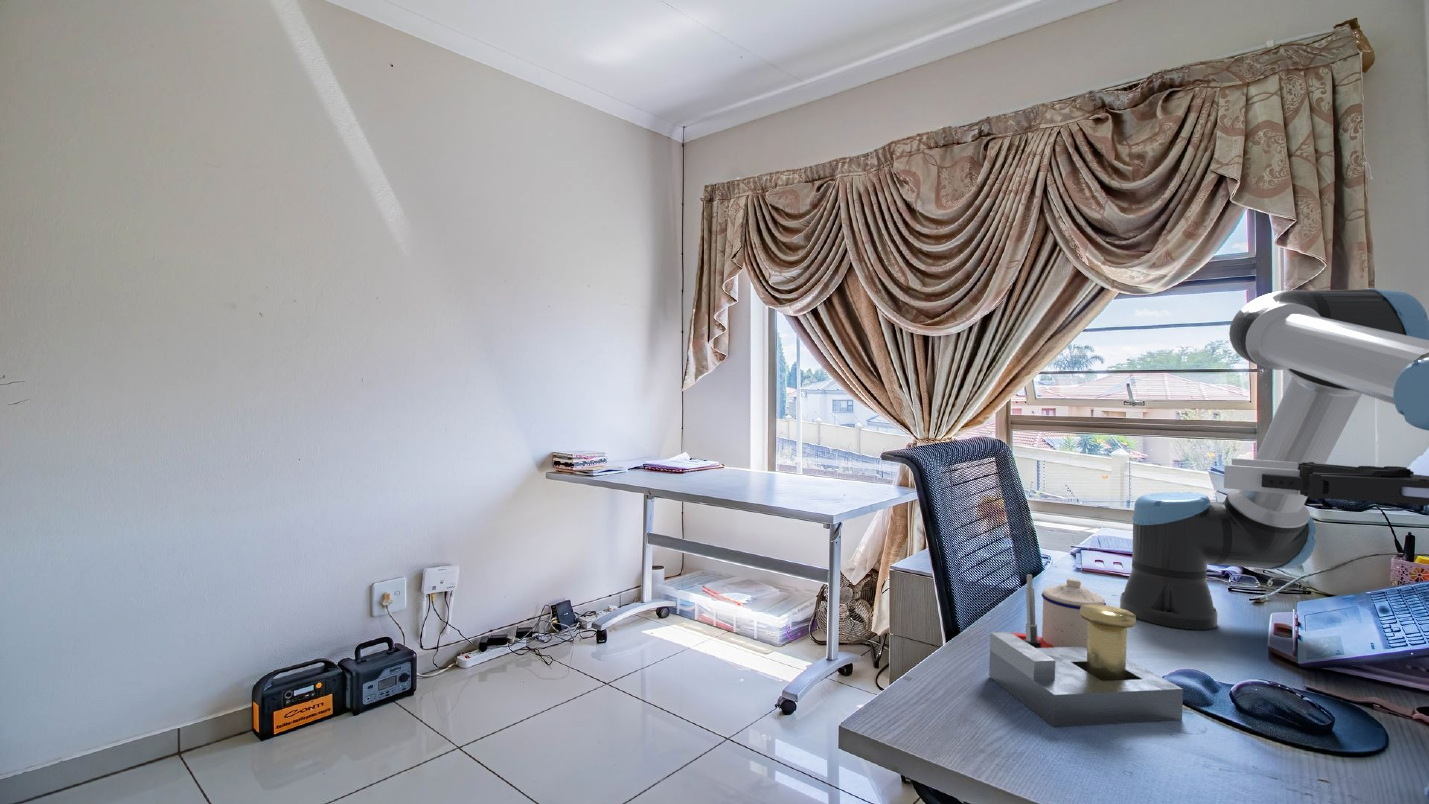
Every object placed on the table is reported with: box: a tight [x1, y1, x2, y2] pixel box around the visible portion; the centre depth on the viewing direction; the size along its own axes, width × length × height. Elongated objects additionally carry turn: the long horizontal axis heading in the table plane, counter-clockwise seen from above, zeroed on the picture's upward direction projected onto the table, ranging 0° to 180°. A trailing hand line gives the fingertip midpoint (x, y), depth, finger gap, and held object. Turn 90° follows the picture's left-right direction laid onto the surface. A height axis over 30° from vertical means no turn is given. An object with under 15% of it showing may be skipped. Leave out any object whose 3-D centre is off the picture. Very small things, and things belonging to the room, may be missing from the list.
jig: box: [988, 631, 1184, 728], centre depth 87 cm, size 18×14×6 cm
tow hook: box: [1011, 574, 1053, 648], centre depth 104 cm, size 8×13×9 cm
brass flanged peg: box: [1080, 604, 1137, 681], centre depth 87 cm, size 6×6×12 cm
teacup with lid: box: [1041, 577, 1107, 647], centre depth 105 cm, size 12×9×12 cm
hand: (1227, 472), depth 80 cm, fingers open, 13 cm apart
